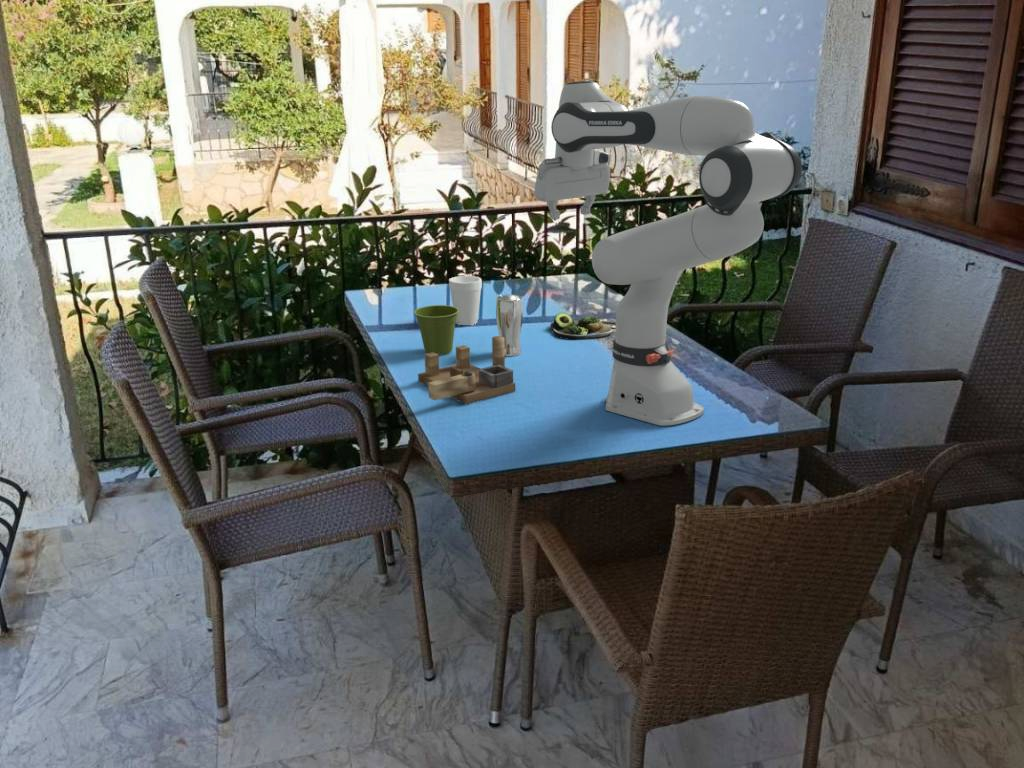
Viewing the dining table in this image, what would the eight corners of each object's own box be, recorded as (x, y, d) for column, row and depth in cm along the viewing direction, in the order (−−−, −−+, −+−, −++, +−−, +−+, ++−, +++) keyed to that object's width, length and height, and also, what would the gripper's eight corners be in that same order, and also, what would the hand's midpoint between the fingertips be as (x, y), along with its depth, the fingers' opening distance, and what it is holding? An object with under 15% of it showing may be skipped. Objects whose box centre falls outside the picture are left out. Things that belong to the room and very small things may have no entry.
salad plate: (611, 321, 273) (611, 306, 271) (626, 338, 256) (626, 322, 255) (546, 324, 271) (546, 309, 269) (557, 342, 254) (557, 325, 252)
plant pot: (425, 343, 252) (423, 303, 249) (466, 347, 249) (465, 306, 245) (408, 356, 242) (406, 314, 238) (451, 360, 238) (449, 318, 235)
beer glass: (520, 357, 240) (519, 301, 235) (494, 356, 241) (493, 300, 236) (525, 349, 246) (525, 294, 241) (499, 348, 248) (498, 293, 243)
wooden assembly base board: (515, 391, 216) (515, 362, 214) (466, 404, 208) (465, 375, 206) (465, 369, 231) (465, 343, 229) (418, 381, 223) (417, 354, 221)
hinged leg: (470, 386, 212) (469, 369, 211) (477, 389, 210) (477, 372, 209) (428, 397, 206) (427, 379, 204) (435, 400, 204) (435, 383, 202)
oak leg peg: (507, 373, 228) (506, 338, 225) (497, 375, 227) (497, 340, 224) (499, 370, 231) (499, 335, 228) (490, 372, 229) (489, 337, 226)
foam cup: (475, 328, 266) (474, 284, 261) (445, 326, 269) (444, 282, 264) (486, 320, 274) (486, 276, 270) (457, 317, 277) (456, 274, 273)
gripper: (549, 162, 199) (544, 225, 205) (616, 154, 211) (610, 214, 217) (530, 156, 203) (526, 218, 209) (597, 149, 215) (592, 208, 221)
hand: (570, 216), depth 213 cm, fingers open, 8 cm apart
